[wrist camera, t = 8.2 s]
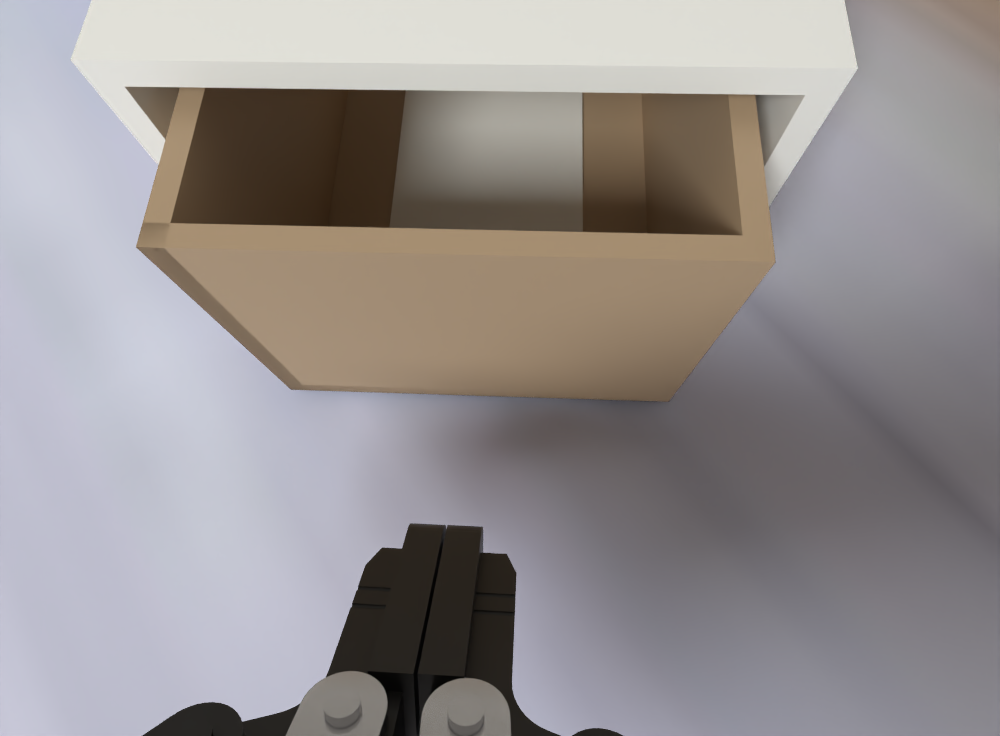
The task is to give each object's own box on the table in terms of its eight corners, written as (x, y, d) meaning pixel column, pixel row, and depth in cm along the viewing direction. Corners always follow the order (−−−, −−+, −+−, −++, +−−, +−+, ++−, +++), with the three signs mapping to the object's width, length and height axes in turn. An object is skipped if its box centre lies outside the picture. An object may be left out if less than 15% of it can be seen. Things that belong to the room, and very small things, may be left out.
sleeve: (704, 312, 19) (866, 63, 10) (269, 301, 20) (63, 55, 11) (682, 19, 23) (784, -342, 14) (322, 16, 24) (204, -334, 15)
